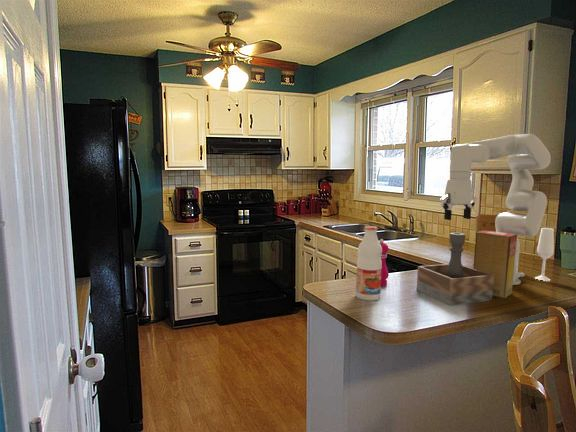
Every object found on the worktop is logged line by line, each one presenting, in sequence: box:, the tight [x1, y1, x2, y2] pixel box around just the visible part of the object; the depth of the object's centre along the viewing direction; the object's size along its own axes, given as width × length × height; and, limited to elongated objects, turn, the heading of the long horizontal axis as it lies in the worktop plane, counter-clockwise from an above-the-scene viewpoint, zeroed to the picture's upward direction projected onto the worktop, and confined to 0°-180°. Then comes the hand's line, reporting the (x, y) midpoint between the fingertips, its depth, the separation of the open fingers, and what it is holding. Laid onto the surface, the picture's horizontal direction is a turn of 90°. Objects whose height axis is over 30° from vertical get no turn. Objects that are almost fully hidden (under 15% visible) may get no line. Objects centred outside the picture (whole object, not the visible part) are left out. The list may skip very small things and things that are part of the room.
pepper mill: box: [379, 238, 390, 287], centre depth 173 cm, size 7×7×20 cm
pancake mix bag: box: [474, 213, 499, 235], centre depth 205 cm, size 7×19×28 cm, turn 55°
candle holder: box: [447, 232, 466, 278], centre depth 160 cm, size 6×6×25 cm
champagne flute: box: [534, 227, 555, 282], centre depth 186 cm, size 7×7×24 cm
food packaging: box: [472, 230, 518, 299], centre depth 164 cm, size 13×9×25 cm
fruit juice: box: [355, 225, 382, 302], centre depth 155 cm, size 9×9×28 cm
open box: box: [416, 263, 494, 306], centre depth 161 cm, size 20×20×10 cm
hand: (457, 219), depth 160 cm, fingers open, 9 cm apart
